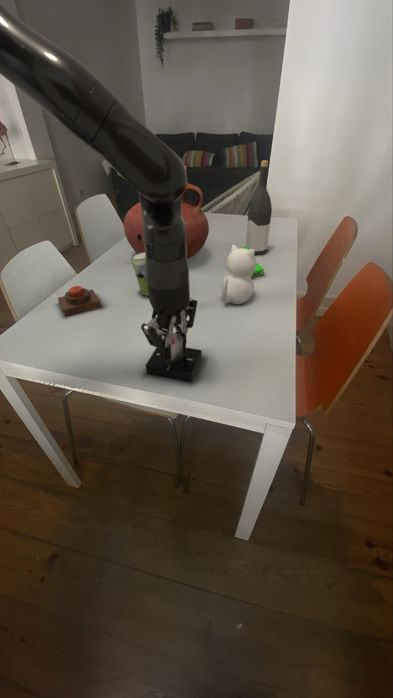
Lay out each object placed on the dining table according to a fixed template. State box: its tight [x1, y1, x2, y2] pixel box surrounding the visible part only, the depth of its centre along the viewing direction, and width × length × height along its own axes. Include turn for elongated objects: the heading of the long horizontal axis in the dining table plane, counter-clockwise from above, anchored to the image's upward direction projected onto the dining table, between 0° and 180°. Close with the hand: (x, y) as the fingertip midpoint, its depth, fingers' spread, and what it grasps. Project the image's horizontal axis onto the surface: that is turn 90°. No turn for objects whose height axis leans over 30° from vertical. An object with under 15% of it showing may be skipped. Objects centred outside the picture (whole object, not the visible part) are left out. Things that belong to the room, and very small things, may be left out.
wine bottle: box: [245, 160, 273, 256], centre depth 112 cm, size 8×8×30 cm
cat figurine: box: [221, 243, 257, 305], centre depth 87 cm, size 9×12×15 cm
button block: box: [57, 287, 102, 318], centre depth 90 cm, size 10×8×4 cm
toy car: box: [237, 246, 265, 278], centre depth 105 cm, size 11×7×7 cm, turn 28°
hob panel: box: [145, 347, 203, 383], centre depth 69 cm, size 10×8×3 cm
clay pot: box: [123, 164, 210, 260], centre depth 109 cm, size 30×29×30 cm
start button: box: [68, 285, 84, 297], centre depth 88 cm, size 4×4×2 cm
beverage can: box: [131, 253, 149, 297], centre depth 93 cm, size 6×7×12 cm
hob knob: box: [162, 332, 184, 363], centre depth 66 cm, size 4×4×5 cm
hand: (173, 352), depth 67 cm, fingers closed on hob knob, 4 cm apart
